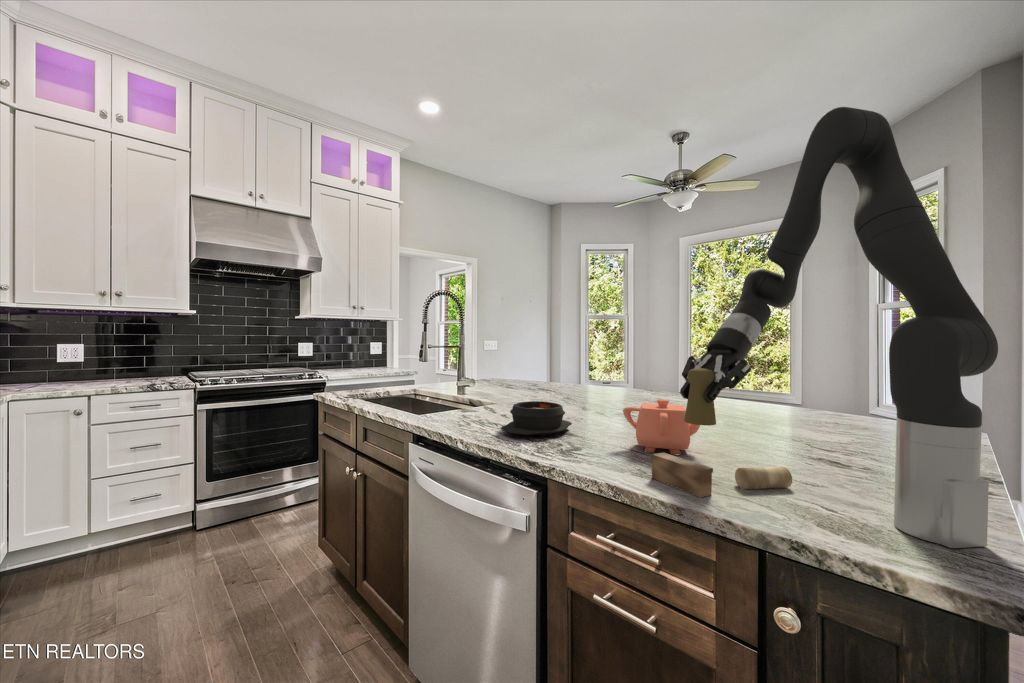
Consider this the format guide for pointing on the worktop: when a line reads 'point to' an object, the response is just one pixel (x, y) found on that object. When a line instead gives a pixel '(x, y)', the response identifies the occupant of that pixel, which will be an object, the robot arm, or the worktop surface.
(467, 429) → the worktop surface
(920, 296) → the robot arm
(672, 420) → the teapot
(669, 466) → the block
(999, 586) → the worktop surface
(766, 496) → the worktop surface
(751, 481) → the roller
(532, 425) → the casserole
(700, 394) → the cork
